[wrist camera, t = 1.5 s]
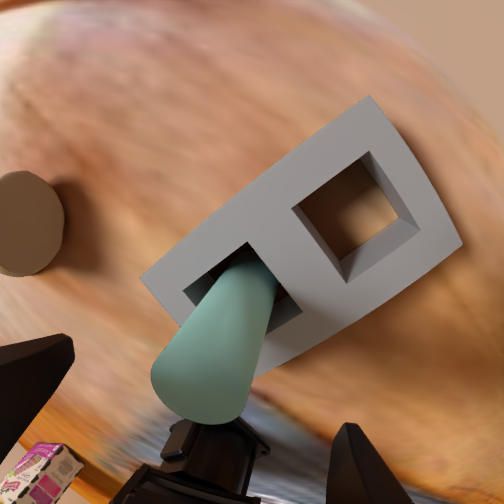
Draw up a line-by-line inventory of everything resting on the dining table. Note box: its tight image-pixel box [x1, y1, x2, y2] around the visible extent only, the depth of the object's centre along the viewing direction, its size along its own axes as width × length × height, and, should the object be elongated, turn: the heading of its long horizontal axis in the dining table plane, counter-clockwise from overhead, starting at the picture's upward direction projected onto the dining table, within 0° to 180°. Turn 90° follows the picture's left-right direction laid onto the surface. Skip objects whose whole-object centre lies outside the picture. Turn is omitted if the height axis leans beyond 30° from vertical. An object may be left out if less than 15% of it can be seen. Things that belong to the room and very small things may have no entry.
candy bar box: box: [0, 442, 84, 504], centre depth 24 cm, size 11×5×16 cm, turn 120°
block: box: [139, 94, 463, 379], centre depth 15 cm, size 8×14×4 cm, turn 129°
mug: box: [0, 171, 64, 277], centre depth 17 cm, size 8×10×10 cm
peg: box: [151, 251, 279, 425], centre depth 13 cm, size 3×3×10 cm
